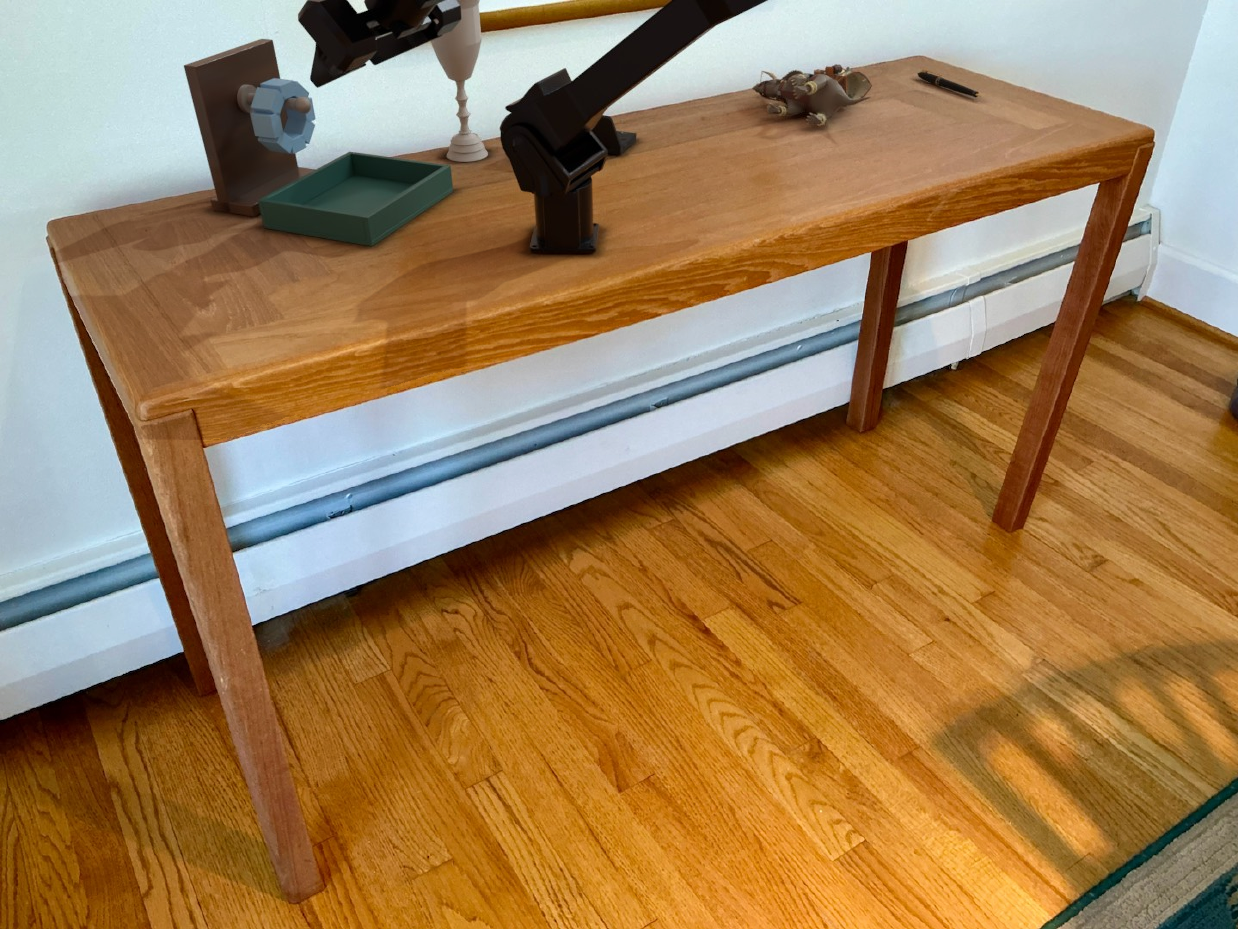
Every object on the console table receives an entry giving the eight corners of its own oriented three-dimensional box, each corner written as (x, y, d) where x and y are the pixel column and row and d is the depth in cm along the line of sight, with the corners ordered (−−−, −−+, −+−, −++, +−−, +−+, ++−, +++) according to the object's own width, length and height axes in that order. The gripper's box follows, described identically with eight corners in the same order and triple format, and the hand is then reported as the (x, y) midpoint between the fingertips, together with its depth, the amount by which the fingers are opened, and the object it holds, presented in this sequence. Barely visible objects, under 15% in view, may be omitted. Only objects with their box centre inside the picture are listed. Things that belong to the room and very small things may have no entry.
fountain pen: (987, 101, 137) (989, 90, 136) (980, 102, 137) (983, 91, 136) (919, 77, 148) (921, 66, 147) (913, 78, 147) (914, 67, 146)
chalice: (441, 145, 123) (423, -12, 113) (496, 144, 124) (483, -14, 113) (437, 165, 118) (417, 1, 107) (494, 163, 118) (480, -1, 107)
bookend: (639, 121, 125) (619, 68, 116) (635, 170, 123) (615, 121, 114) (552, 129, 128) (527, 78, 119) (547, 177, 126) (521, 130, 117)
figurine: (723, 69, 132) (792, 46, 142) (723, 116, 135) (790, 90, 146) (857, 85, 120) (921, 59, 131) (853, 136, 124) (916, 107, 134)
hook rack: (359, 185, 112) (336, 45, 104) (293, 223, 103) (262, 73, 95) (282, 174, 116) (253, 37, 107) (212, 210, 107) (175, 64, 98)
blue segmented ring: (320, 141, 108) (307, 74, 104) (279, 161, 103) (265, 91, 99) (301, 138, 109) (288, 72, 105) (259, 158, 104) (244, 89, 99)
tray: (453, 191, 111) (450, 164, 109) (372, 246, 98) (367, 217, 97) (353, 176, 115) (349, 151, 113) (263, 227, 102) (257, 200, 101)
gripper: (425, -126, 95) (347, -13, 105) (296, -104, 81) (221, 23, 91) (501, -27, 97) (417, 74, 107) (387, 11, 83) (304, 122, 93)
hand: (344, 71), depth 100 cm, fingers open, 9 cm apart
